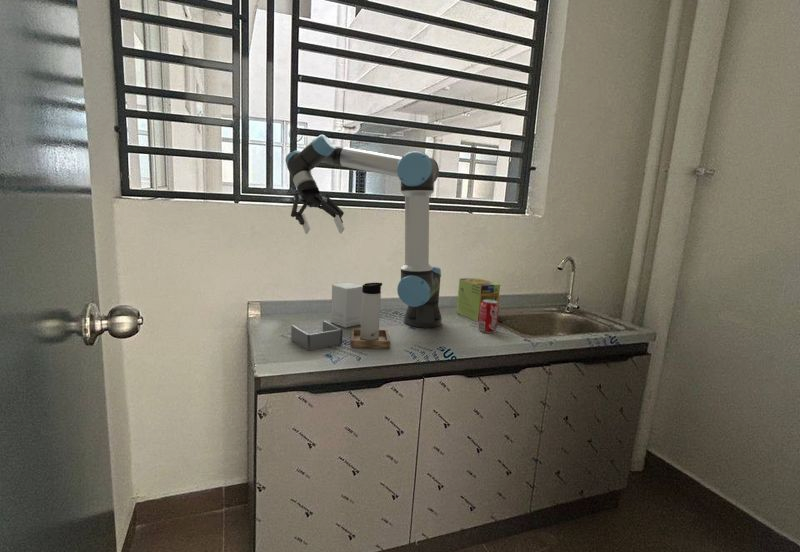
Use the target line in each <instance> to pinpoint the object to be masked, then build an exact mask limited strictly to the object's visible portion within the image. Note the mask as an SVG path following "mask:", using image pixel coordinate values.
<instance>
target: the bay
mask: <svg viewBox="0 0 800 552" xmlns="http://www.w3.org/2000/svg"><path fill="white" fill-rule="evenodd" d="M290 331H291V332H290V333H291V334H290V340H291V341H292V342H294V343H296V344H297V345H298V346H300V347H302V348H303V349H305V350H306V351H307V350H308V351H313V350H317V349H318V348H319V349H322V348H323V347H324V348H329V347H334V346H339V345H342V344H343V329H342V328H340V327H338V325H336V324H334V323H331V322H329V321H326V320H322V331H320V332H313V333H308V332H306V331H304V330H302V329H301V328H299V327H297V326H296V325H293V324H291V326H290ZM328 346H329V347H328ZM312 349H313V350H312Z"/></svg>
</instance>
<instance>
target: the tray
mask: <svg viewBox="0 0 800 552" xmlns="http://www.w3.org/2000/svg"><path fill="white" fill-rule="evenodd" d="M360 332H361V328H351V331H350V333H351V334H350V348H351V349H354V348H355V349H385V350H386V349H387V350H388V349H390V348H391V339H390V336H389V335H390V334H389V332H388V329H382V328H381V329H380V328H379V340H360Z"/></svg>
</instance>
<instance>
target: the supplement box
mask: <svg viewBox="0 0 800 552" xmlns="http://www.w3.org/2000/svg"><path fill="white" fill-rule="evenodd" d="M362 287H363V285H360V284H355V283H352V282H343V283H335V284H332V285H331V310H330V311H331V314H330V323H331V324H333V325H336V326H340V327H343V328H349V327H354V326H355V327H356V326H358V325H361V308H362V290H363V289H362Z"/></svg>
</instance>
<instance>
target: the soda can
mask: <svg viewBox="0 0 800 552" xmlns="http://www.w3.org/2000/svg"><path fill="white" fill-rule="evenodd" d="M499 308H500V306H499V301H496V300H492V299H484V300H483V302H482V303H481V305H480V314H479V322H478V330H479V331H481V332H482V333H486V334H492V333H495V332H496V331H497V328H498V320H499V312H500V311H499Z"/></svg>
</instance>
